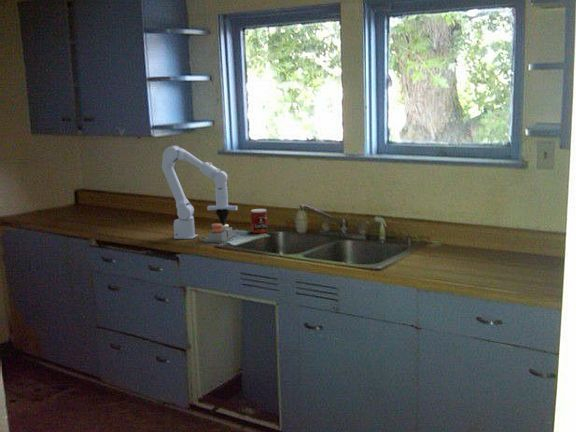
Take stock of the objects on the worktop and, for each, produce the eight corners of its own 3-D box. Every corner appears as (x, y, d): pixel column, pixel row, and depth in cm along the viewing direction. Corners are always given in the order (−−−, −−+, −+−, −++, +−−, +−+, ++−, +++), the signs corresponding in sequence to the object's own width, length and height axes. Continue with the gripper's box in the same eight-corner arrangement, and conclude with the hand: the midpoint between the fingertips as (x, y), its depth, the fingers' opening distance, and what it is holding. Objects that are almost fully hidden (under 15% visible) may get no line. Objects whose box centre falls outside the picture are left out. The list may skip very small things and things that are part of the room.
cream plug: (217, 235, 319) (216, 226, 318) (220, 232, 323) (220, 224, 323) (227, 235, 317) (226, 226, 317) (230, 233, 322) (230, 224, 321)
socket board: (204, 242, 310) (204, 233, 309) (216, 234, 325) (216, 227, 324) (225, 242, 307) (224, 234, 307) (236, 235, 323) (235, 227, 322)
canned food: (253, 234, 323) (252, 211, 321) (250, 231, 330) (249, 209, 328) (269, 233, 325) (268, 210, 323) (265, 230, 332) (264, 208, 330)
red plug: (210, 234, 310) (209, 225, 309) (214, 232, 315) (213, 223, 314) (220, 234, 309) (220, 225, 308) (224, 232, 314) (223, 223, 313)
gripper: (239, 195, 319) (240, 223, 322) (210, 195, 323) (212, 223, 325) (234, 197, 312) (235, 226, 315) (205, 197, 316) (206, 226, 318)
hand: (223, 225), depth 320 cm, fingers closed, pressing on cream plug
